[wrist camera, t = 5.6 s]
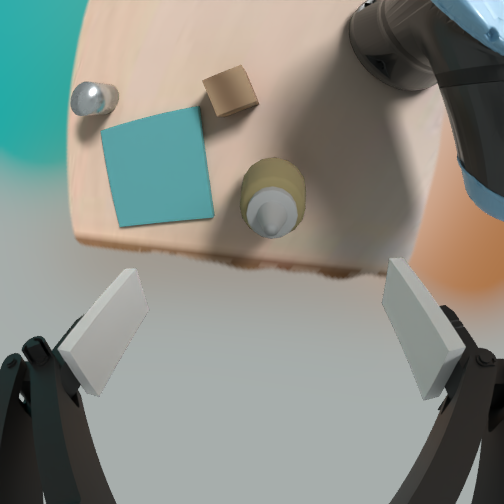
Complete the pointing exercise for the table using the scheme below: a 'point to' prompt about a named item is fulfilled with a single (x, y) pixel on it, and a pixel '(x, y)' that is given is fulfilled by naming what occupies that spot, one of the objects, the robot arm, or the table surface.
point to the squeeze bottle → (273, 197)
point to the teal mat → (159, 168)
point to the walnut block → (230, 91)
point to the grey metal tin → (94, 99)
